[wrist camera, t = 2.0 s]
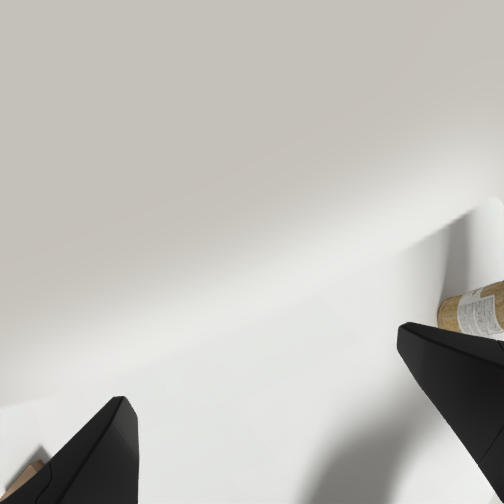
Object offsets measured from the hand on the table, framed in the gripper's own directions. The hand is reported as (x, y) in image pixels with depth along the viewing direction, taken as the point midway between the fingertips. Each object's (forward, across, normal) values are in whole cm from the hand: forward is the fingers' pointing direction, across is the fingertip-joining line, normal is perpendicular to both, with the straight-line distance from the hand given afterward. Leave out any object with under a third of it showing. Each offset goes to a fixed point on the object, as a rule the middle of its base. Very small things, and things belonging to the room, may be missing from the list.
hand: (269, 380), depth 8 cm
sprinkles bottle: (+12, -20, +11) cm, 26 cm away
